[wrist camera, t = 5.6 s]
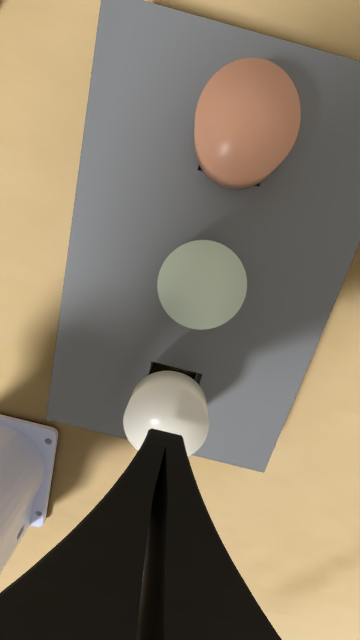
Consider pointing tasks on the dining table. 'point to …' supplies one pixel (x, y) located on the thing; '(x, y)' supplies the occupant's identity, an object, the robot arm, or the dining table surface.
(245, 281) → the button sage
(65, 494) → the dining table surface
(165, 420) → the button cream
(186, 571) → the robot arm
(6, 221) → the dining table surface
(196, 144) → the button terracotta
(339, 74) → the panel
